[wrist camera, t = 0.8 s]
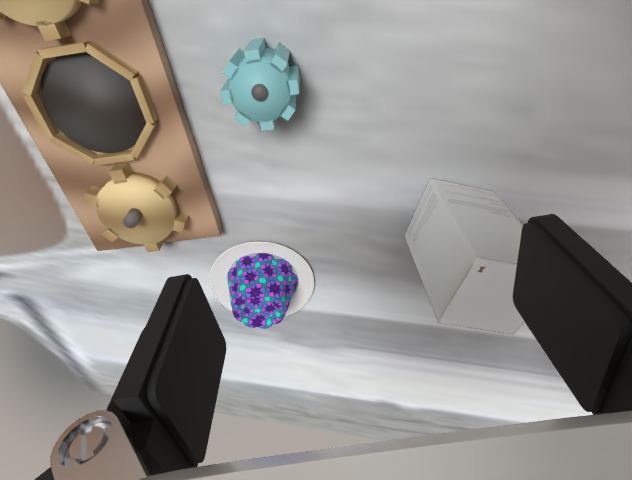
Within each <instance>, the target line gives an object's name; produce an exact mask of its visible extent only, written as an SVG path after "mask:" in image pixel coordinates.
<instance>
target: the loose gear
mask: <svg viewBox="0 0 632 480" xmlns="http://www.w3.org/2000/svg"><path fill="white" fill-rule="evenodd" d="M289 53H290V50H288V49H287V48H286V47H285V46H283V45H282V44H281V43H280V42H279V44H278V46H277V47H276V49H275V50H274V49H272V48H268V47H266V44H265V39H264V38H261V39H255V40H251V42H250V43H249V45H248V46H247V47H246V49H245V50H244V52H243V51H242V50H240V49H239V50H238V51H237V52H236V53H235V55H234V56H233V57H232V58H231V60H230V61H229V63H228V64H227V66H226V68H225V70H224V71H223V73H222V74H224V75H225V76H226V77H228V80H227V81H226V83H225V84H224V86H223V87H222V89H221V90H220V92H221V96H222V100H223V104H224V105H227V104H233V105H234V107H235V108H236V110H237V111H238V112H237V114H236V116H235V118H234V120H236V121H237V122H239V123H240V124H242V125H243V126H245V127H246V126H247V124H248V123H249V121H250V120H251V121H254V122H259V123H260V127H261V131H265V130H272V129H274V128H275V122H276V119H277V118H278V117H280V116H281V117H283V118H284V119H286V120H287V121H288V120H289V119H290V117H291V116H292V114H293V113H294V112H295V109H296V94H299V87H300V76H299V69H298V65H294V66H290V65H289V63H288V59H289Z"/></svg>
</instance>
